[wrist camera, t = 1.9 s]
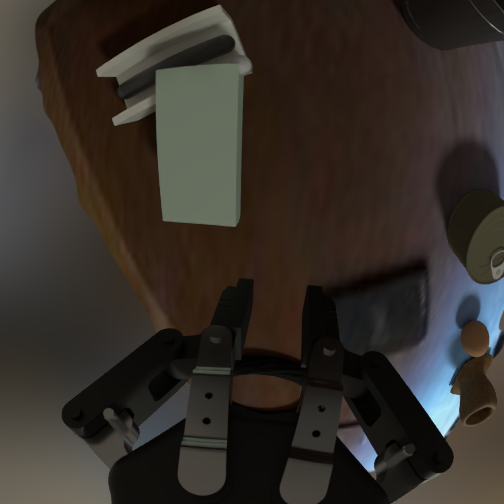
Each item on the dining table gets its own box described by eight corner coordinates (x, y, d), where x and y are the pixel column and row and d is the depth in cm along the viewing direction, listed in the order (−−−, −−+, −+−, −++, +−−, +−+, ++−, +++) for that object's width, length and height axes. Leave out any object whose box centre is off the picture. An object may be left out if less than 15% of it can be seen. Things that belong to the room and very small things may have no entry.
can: (498, 177, 27) (525, 193, 21) (503, 243, 32) (524, 265, 26) (439, 203, 31) (463, 224, 25) (449, 270, 36) (467, 296, 30)
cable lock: (352, 402, 51) (261, 437, 65) (350, 388, 54) (263, 425, 68) (253, 347, 45) (174, 396, 59) (256, 331, 48) (178, 384, 62)
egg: (484, 312, 39) (500, 340, 32) (473, 333, 42) (486, 362, 35) (462, 314, 40) (478, 344, 33) (451, 336, 43) (464, 366, 36)
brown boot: (457, 357, 45) (476, 412, 33) (494, 347, 43) (516, 395, 30) (438, 393, 53) (449, 441, 40) (473, 383, 50) (487, 427, 37)
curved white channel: (231, 18, 24) (219, 4, 19) (252, 72, 27) (244, 67, 23) (120, 71, 28) (95, 70, 23) (137, 120, 32) (114, 125, 27)
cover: (166, 64, 23) (156, 61, 21) (253, 58, 22) (249, 54, 20) (172, 212, 31) (163, 220, 29) (248, 217, 30) (244, 227, 28)
